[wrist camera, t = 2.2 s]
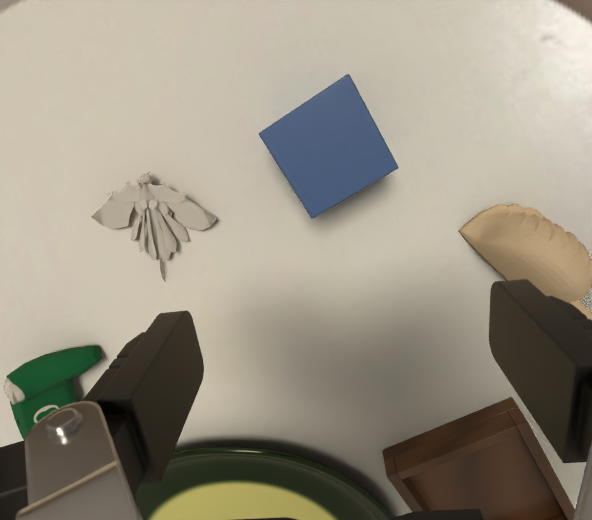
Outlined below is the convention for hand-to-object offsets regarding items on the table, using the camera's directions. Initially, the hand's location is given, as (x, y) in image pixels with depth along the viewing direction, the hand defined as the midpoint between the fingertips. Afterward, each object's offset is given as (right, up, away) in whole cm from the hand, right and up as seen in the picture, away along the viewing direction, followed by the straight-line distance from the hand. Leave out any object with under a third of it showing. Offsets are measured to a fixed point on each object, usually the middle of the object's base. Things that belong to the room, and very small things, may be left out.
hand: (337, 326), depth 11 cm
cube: (+1, +9, +13) cm, 16 cm away
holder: (+14, -16, +22) cm, 30 cm away
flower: (-10, +4, +16) cm, 19 cm away
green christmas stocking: (-18, -8, +21) cm, 29 cm away
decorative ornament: (+13, +2, +15) cm, 20 cm away
